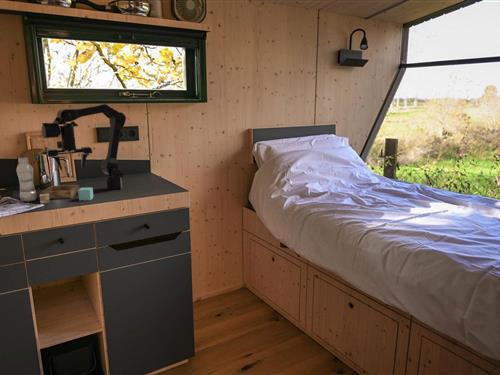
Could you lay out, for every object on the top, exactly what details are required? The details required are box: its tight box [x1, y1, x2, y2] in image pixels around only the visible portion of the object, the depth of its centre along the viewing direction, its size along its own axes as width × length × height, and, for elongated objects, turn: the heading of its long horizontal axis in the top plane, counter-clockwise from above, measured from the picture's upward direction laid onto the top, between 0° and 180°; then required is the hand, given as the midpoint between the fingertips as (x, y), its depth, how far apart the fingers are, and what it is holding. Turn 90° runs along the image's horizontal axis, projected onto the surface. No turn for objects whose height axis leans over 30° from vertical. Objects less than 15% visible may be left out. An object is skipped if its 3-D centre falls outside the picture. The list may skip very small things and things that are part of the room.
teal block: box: [77, 186, 94, 201], centre depth 172 cm, size 5×5×5 cm
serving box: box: [40, 184, 80, 200], centre depth 179 cm, size 13×13×4 cm
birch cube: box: [39, 193, 51, 204], centre depth 167 cm, size 4×4×4 cm
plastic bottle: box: [16, 156, 37, 203], centre depth 167 cm, size 6×7×20 cm
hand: (72, 169), depth 176 cm, fingers open, 9 cm apart
